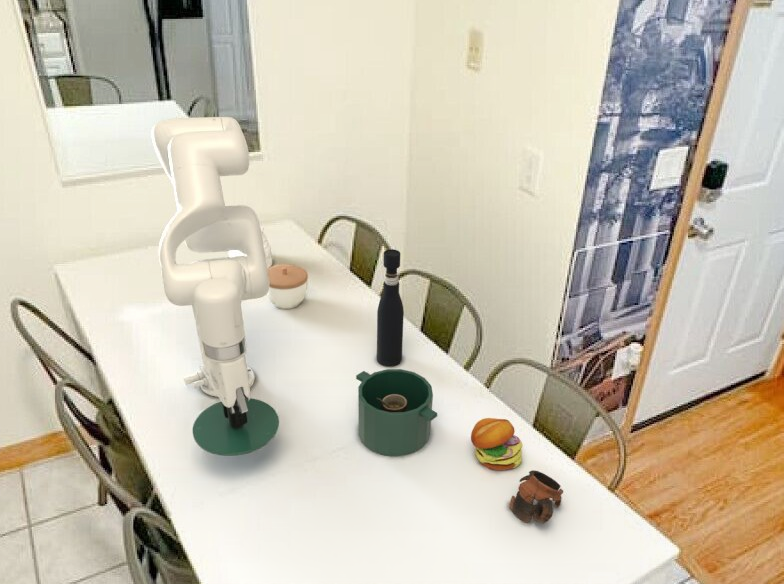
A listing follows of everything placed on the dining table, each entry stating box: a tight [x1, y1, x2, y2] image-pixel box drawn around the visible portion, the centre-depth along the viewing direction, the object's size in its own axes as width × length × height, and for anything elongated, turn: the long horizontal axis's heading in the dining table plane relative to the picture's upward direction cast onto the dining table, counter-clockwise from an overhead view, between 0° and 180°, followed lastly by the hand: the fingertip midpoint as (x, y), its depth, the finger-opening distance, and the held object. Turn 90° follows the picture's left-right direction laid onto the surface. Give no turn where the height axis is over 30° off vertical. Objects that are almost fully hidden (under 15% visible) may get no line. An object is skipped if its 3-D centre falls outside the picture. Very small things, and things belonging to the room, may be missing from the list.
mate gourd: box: [377, 394, 408, 412], centre depth 138 cm, size 7×8×10 cm
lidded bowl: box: [265, 264, 309, 310], centre depth 181 cm, size 13×13×11 cm
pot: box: [355, 368, 438, 457], centre depth 138 cm, size 16×21×12 cm
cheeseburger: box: [470, 417, 523, 471], centre depth 135 cm, size 10×11×10 cm
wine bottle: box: [376, 248, 405, 368], centre depth 155 cm, size 6×6×30 cm
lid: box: [192, 397, 280, 457], centre depth 127 cm, size 17×17×6 cm
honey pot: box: [228, 224, 273, 268], centre depth 198 cm, size 13×13×18 cm
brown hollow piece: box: [509, 469, 564, 524], centre depth 123 cm, size 12×10×8 cm
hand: (235, 419), depth 127 cm, fingers closed on lid, 2 cm apart
